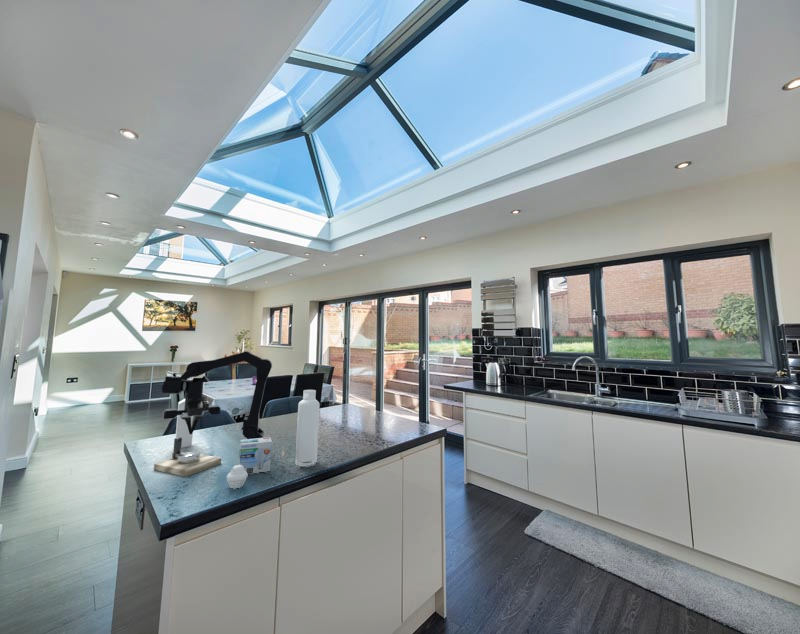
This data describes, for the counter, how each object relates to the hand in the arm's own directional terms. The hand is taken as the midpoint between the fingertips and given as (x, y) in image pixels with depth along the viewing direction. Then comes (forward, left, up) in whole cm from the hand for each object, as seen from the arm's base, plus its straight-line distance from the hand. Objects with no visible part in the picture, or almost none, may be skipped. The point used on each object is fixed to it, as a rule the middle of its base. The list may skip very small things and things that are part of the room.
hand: (190, 434), depth 127 cm
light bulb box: (-31, -2, -10) cm, 32 cm away
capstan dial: (-3, +4, -8) cm, 10 cm away
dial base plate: (-6, +4, -10) cm, 12 cm away
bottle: (-44, -15, -10) cm, 47 cm away
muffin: (-36, +11, -10) cm, 39 cm away
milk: (+19, -13, -10) cm, 25 cm away
